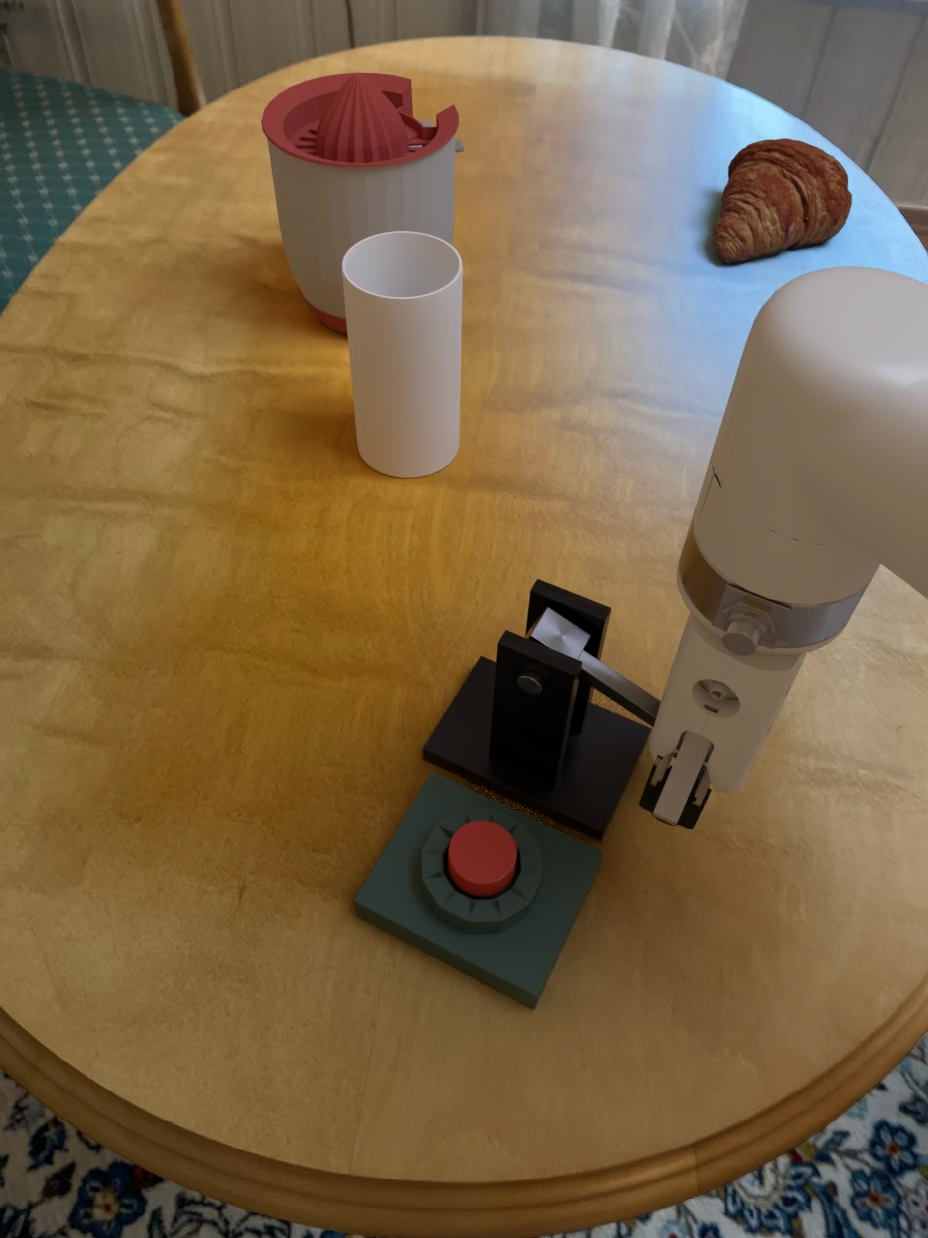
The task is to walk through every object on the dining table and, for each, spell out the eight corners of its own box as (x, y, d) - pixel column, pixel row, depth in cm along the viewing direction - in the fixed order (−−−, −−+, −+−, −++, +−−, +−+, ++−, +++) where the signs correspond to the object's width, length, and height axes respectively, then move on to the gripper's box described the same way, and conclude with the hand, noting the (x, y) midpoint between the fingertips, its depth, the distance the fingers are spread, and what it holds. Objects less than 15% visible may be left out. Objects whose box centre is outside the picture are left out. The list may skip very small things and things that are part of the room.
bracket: (649, 739, 62) (689, 614, 52) (601, 842, 57) (635, 728, 47) (480, 666, 65) (487, 535, 55) (422, 759, 60) (418, 635, 50)
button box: (599, 867, 56) (608, 837, 53) (534, 1010, 51) (540, 986, 48) (432, 788, 59) (431, 755, 56) (355, 916, 54) (350, 887, 51)
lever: (720, 727, 55) (743, 711, 53) (691, 798, 52) (715, 784, 50) (541, 609, 55) (558, 588, 53) (503, 673, 52) (518, 654, 50)
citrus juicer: (505, 303, 90) (519, 76, 75) (352, 377, 83) (332, 143, 68) (403, 231, 98) (395, 10, 82) (254, 293, 91) (215, 65, 75)
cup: (337, 437, 79) (317, 257, 66) (416, 396, 82) (412, 217, 69) (399, 493, 75) (390, 314, 62) (480, 447, 78) (487, 269, 65)
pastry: (871, 272, 95) (901, 193, 88) (713, 267, 95) (733, 188, 88) (834, 183, 105) (859, 107, 99) (692, 179, 105) (708, 102, 99)
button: (526, 851, 53) (528, 838, 52) (496, 908, 51) (498, 895, 50) (467, 823, 54) (467, 809, 53) (436, 878, 52) (436, 864, 51)
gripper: (807, 757, 35) (698, 935, 50) (904, 469, 45) (789, 688, 59) (614, 676, 37) (563, 869, 52) (747, 416, 47) (672, 641, 61)
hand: (684, 771), depth 55 cm, fingers closed on lever, 5 cm apart
